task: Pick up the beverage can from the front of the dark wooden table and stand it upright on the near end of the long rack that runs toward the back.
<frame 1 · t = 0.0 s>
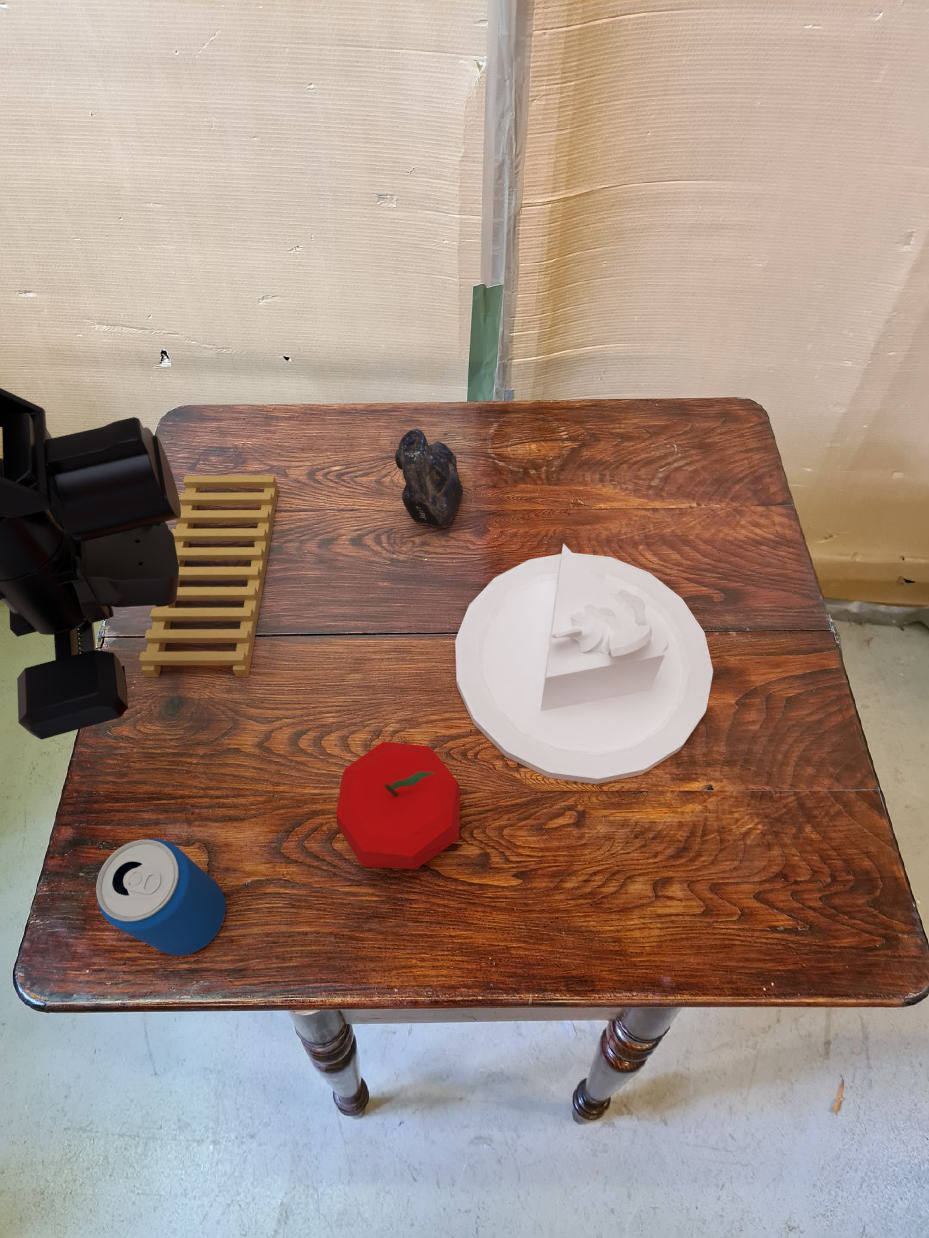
hand: (112, 663, 63), 14 cm above the table, tool pointing down, fingers open, 9 cm apart
apple: (403, 823, 70), on the table
statue: (435, 511, 89), on the table
dish: (580, 663, 78), on the table
beverage can: (189, 915, 66), on the table
rack: (217, 576, 84), on the table
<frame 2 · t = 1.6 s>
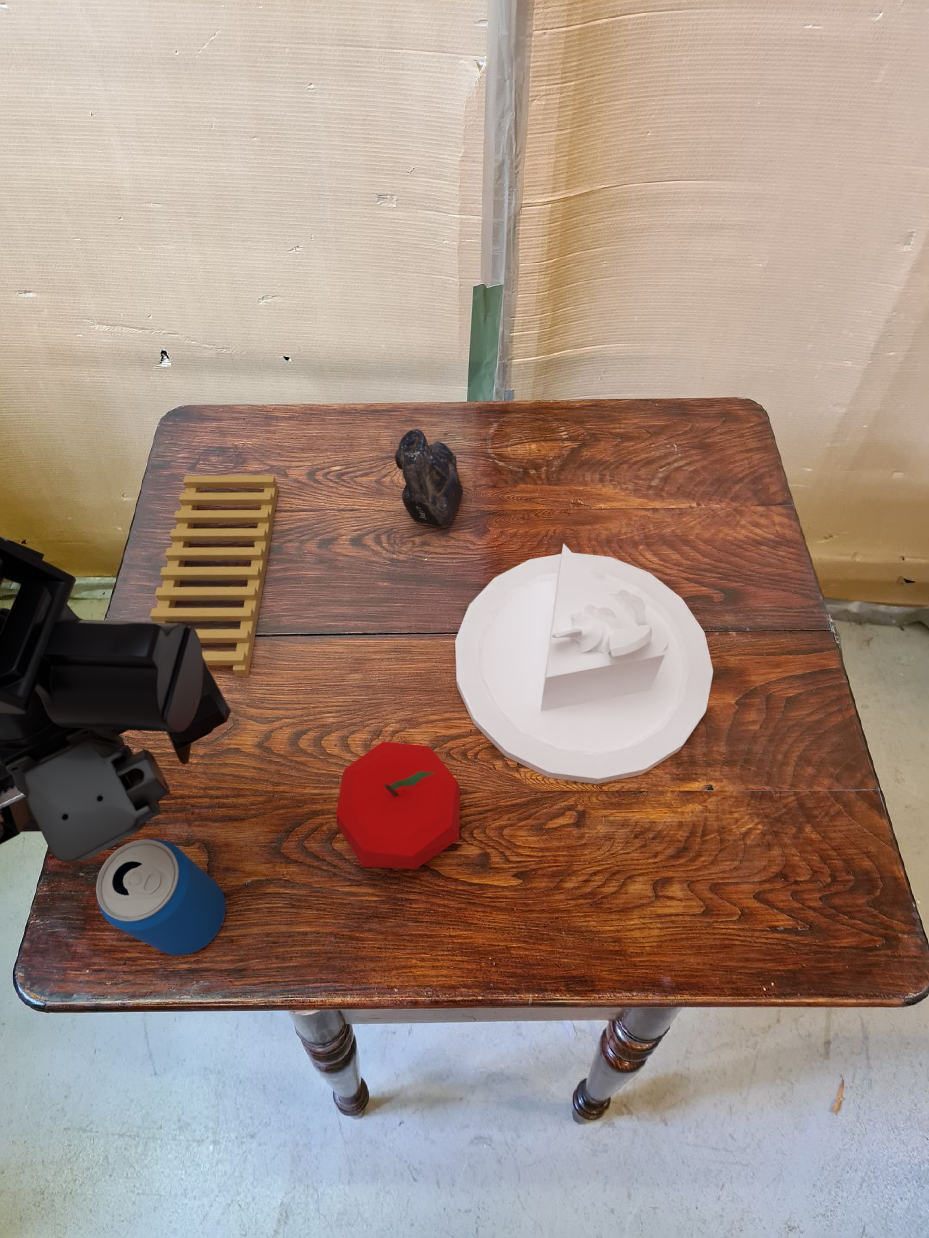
hand: (124, 790, 58), 13 cm above the table, tool pointing down, fingers open, 9 cm apart
nothing on the table moved.
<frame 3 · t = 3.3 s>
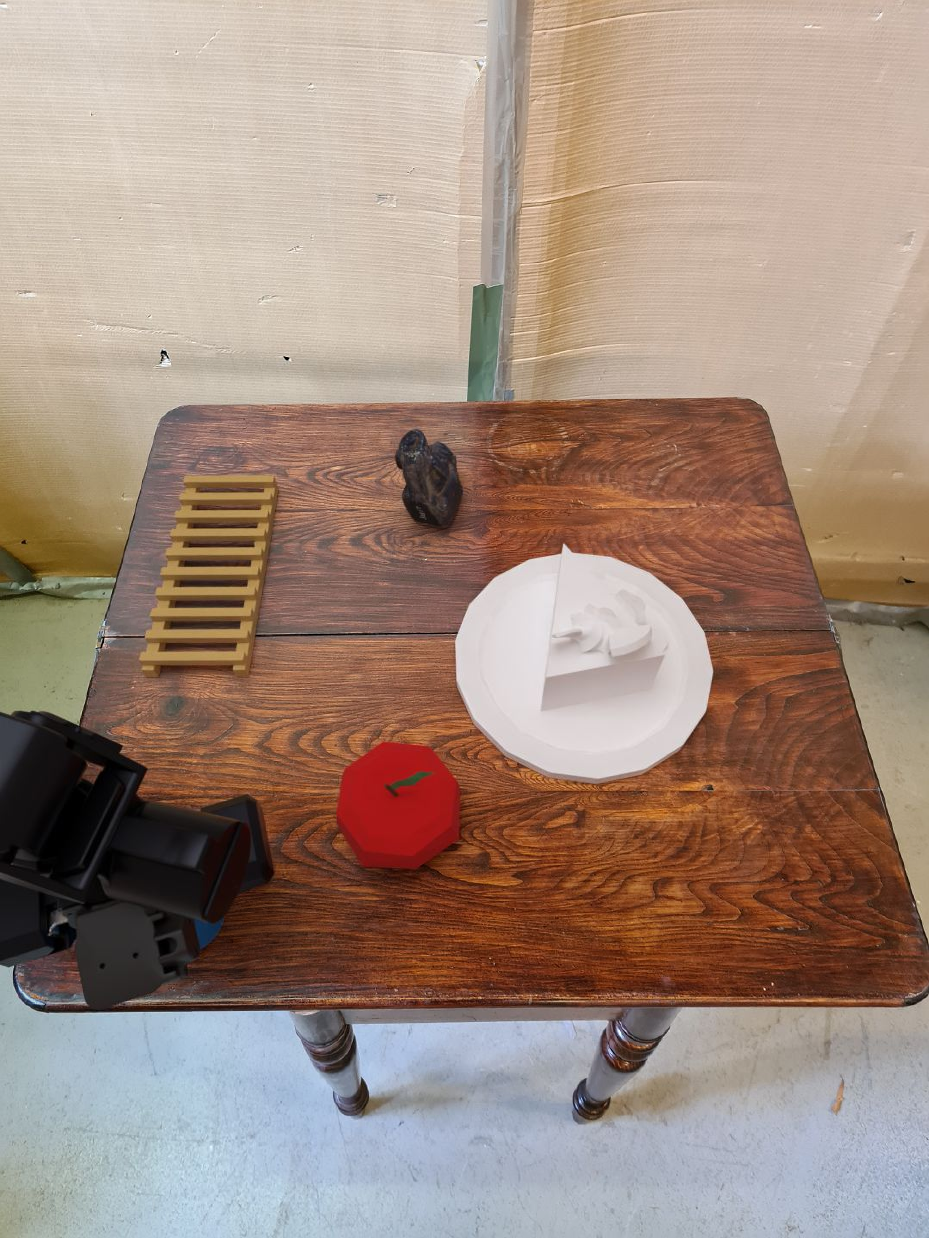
hand: (171, 904, 62), 4 cm above the table, tool pointing down
beverage can: (189, 915, 66), on the table, touching gripper
everything else where it was.
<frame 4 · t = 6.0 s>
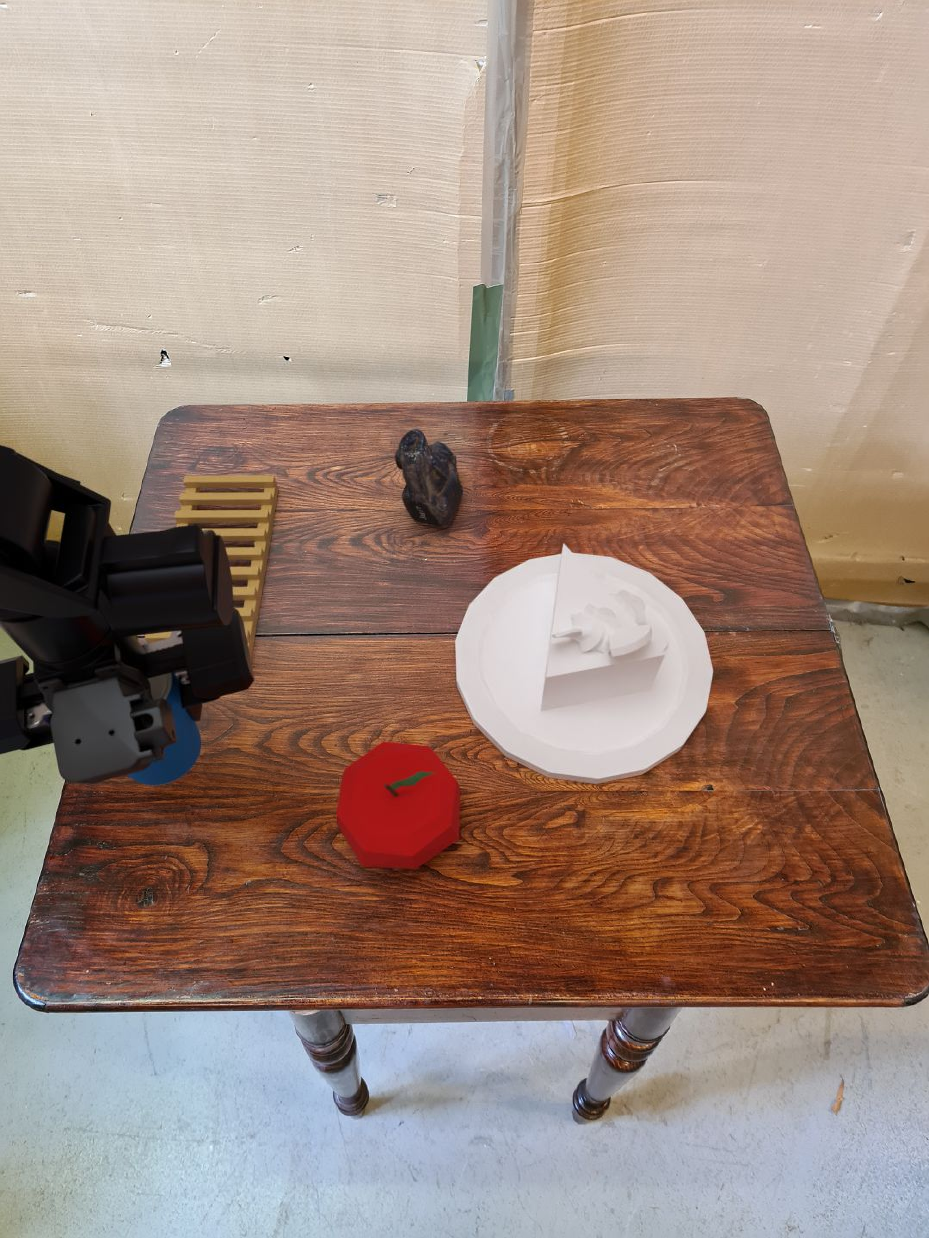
hand: (151, 727, 62), 12 cm above the table, tool pointing down, fingers closed on beverage can, 7 cm apart
beverage can: (162, 752, 66), point 7 cm above the table, touching gripper
everything else where it was.
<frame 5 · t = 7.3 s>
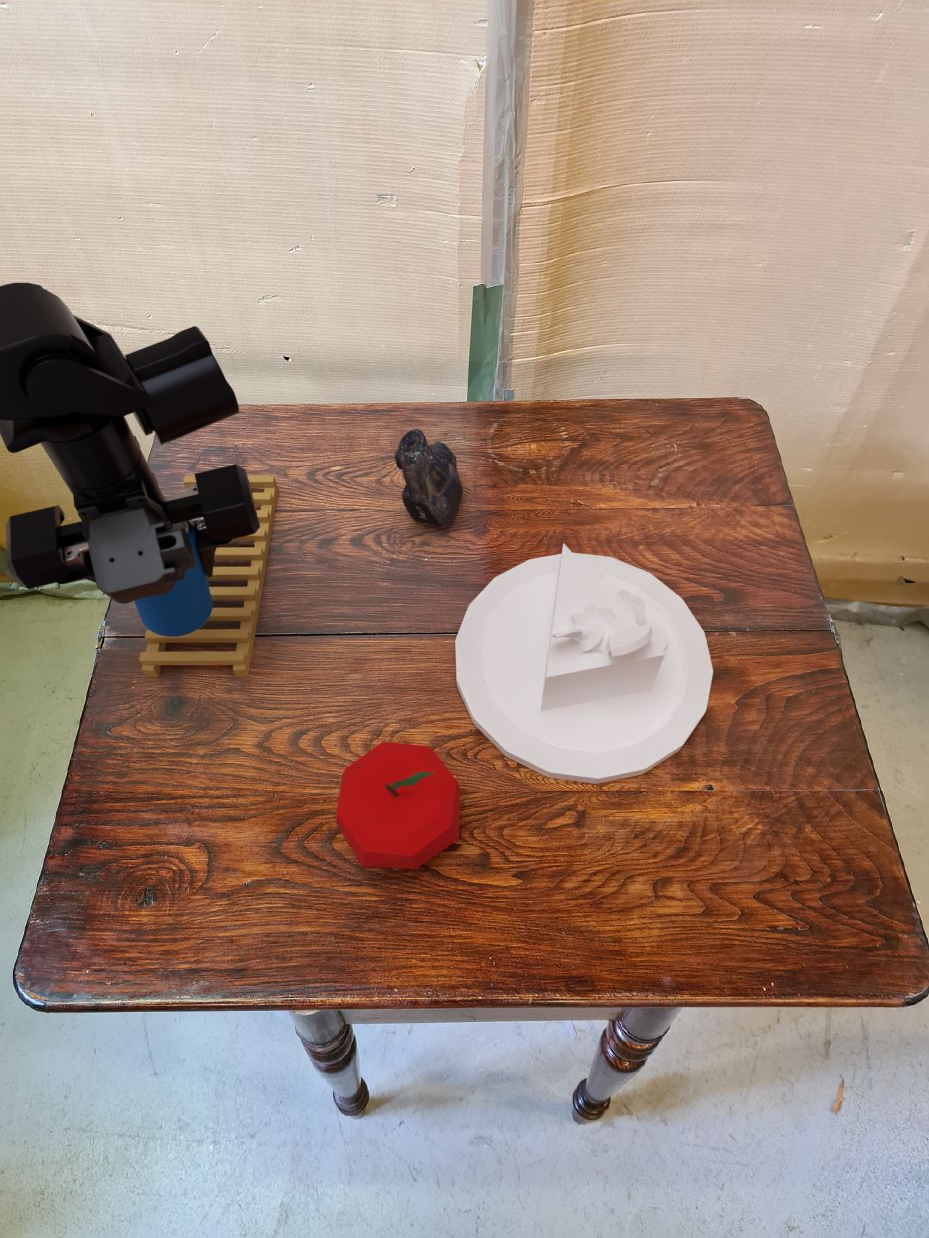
hand: (169, 583, 70), 11 cm above the table, tool pointing down, fingers closed on beverage can, 7 cm apart
beverage can: (178, 613, 75), point 6 cm above the table, touching gripper
everything else where it was.
when the fingers open (8 cm above the table, at t = 8.5 s): beverage can stays where it is, resting on rack.
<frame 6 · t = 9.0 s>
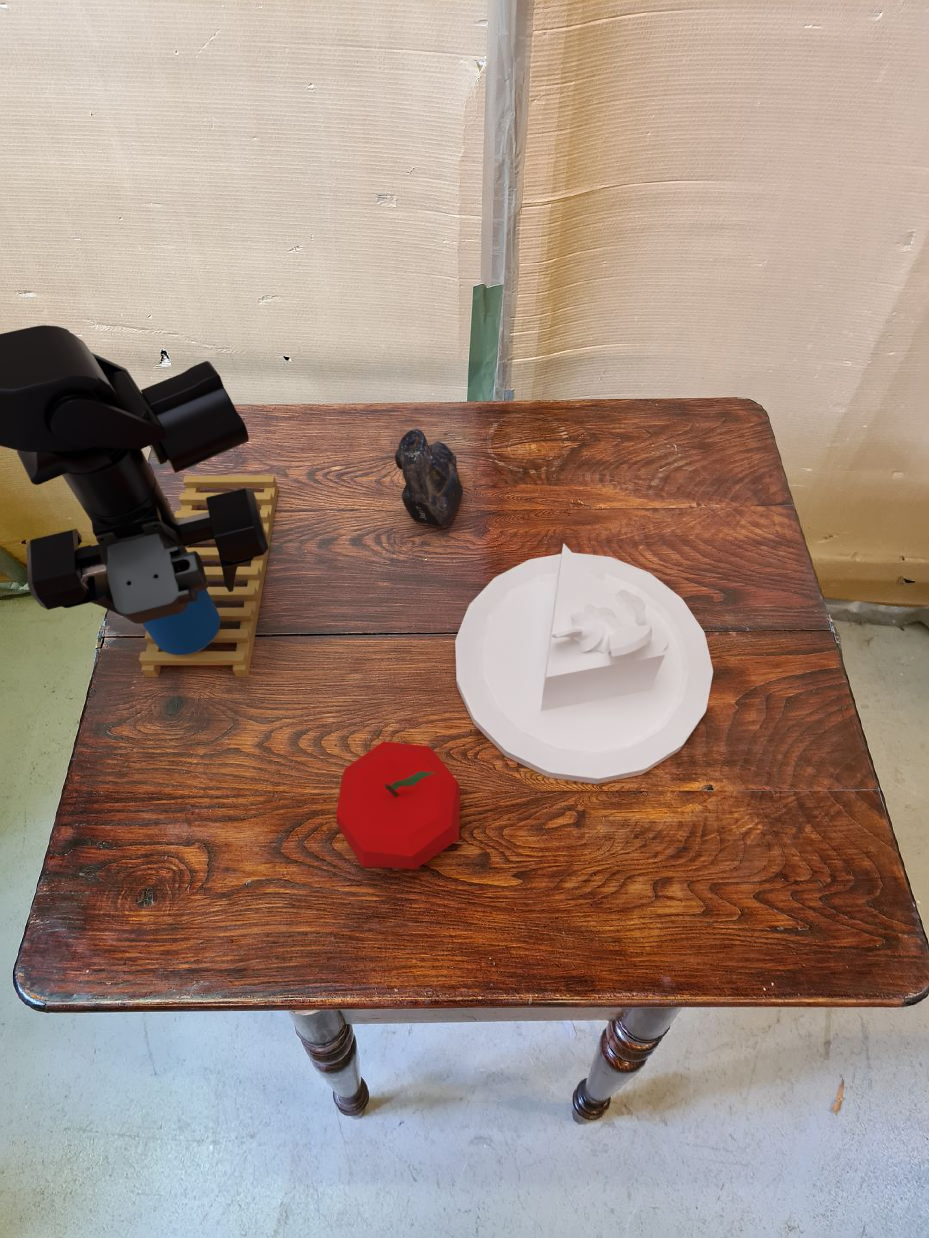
hand: (180, 601, 73), 8 cm above the table, tool pointing down, fingers open, 9 cm apart
beverage can: (189, 631, 78), point 2 cm above the table, touching rack
everything else where it was.
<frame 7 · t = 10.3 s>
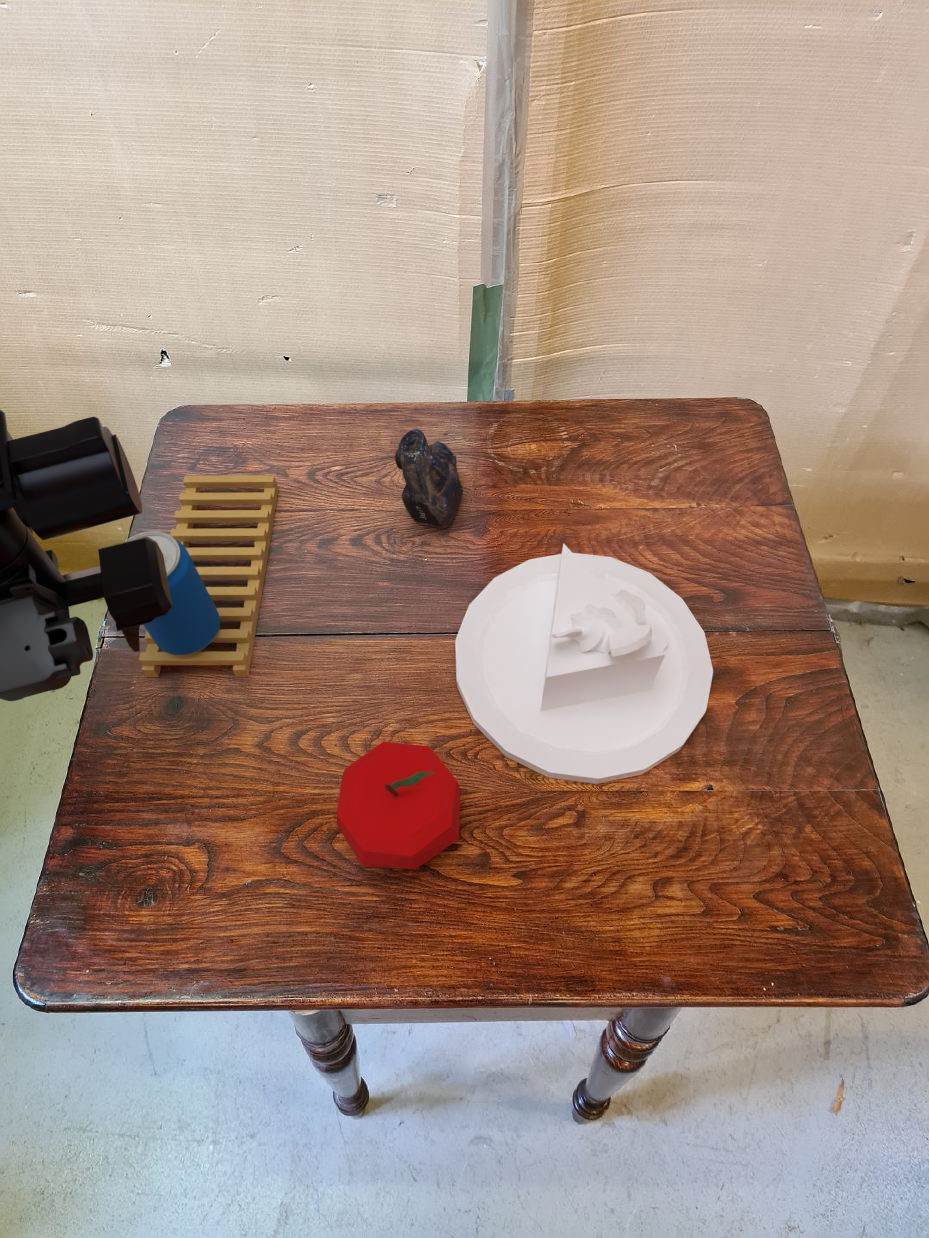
hand: (78, 662, 64), 13 cm above the table, tool pointing down, fingers open, 9 cm apart
nothing on the table moved.
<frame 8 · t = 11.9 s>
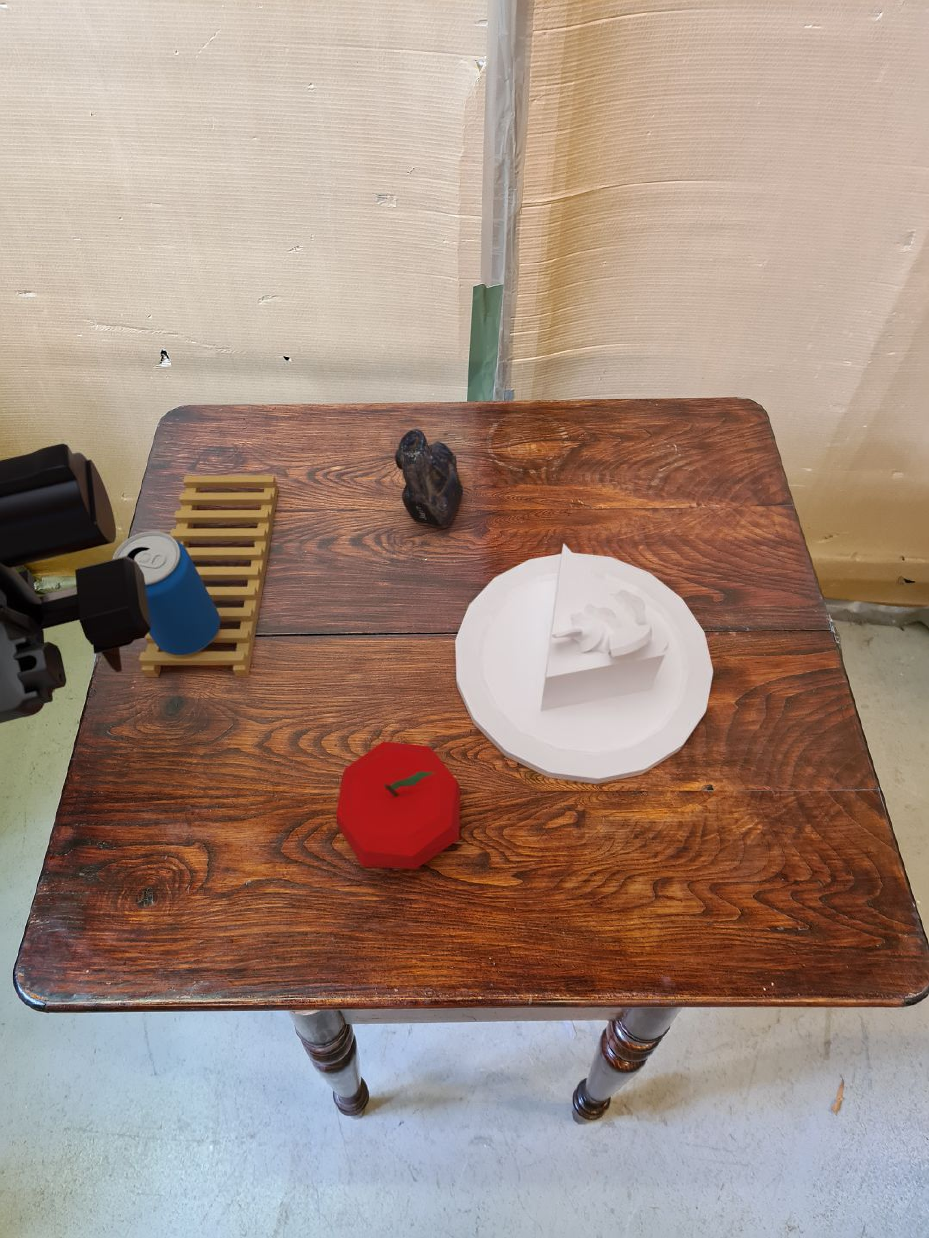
hand: (59, 682, 63), 13 cm above the table, tool pointing down, fingers open, 9 cm apart
nothing on the table moved.
at the end: beverage can inside the target area on the rack (0.8 cm from its centre), point 2.3 cm above the rack's base; beverage can tilted 0°; the gripper is holding nothing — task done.
